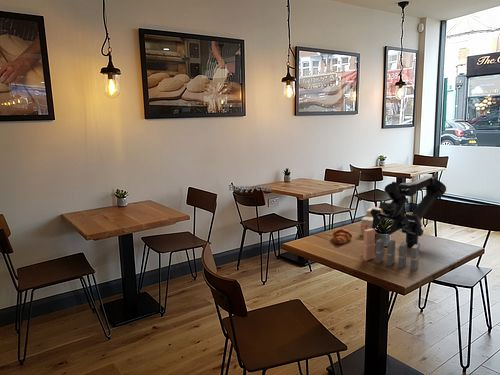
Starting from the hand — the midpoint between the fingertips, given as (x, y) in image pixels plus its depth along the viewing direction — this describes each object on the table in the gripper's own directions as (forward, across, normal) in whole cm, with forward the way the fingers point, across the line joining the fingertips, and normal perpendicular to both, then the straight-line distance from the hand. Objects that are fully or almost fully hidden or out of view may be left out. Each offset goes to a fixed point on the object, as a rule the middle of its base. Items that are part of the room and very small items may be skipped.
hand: (380, 232), depth 179 cm
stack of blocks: (-12, -28, +29) cm, 42 cm away
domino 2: (+12, +5, +4) cm, 14 cm away
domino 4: (+10, +14, +6) cm, 18 cm away
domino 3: (+11, +9, +5) cm, 15 cm away
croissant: (+6, -27, +11) cm, 30 cm away
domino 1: (+14, 0, +3) cm, 14 cm away
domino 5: (+9, +19, +8) cm, 22 cm away
